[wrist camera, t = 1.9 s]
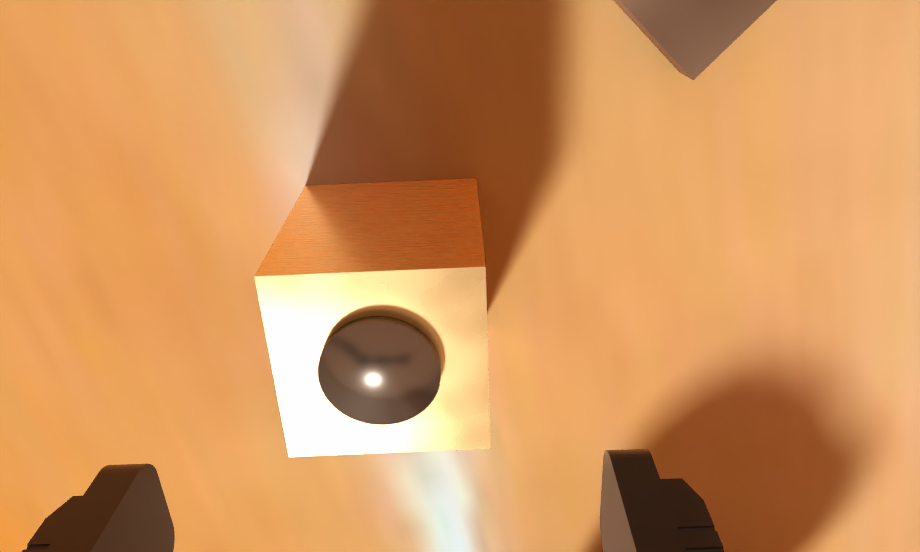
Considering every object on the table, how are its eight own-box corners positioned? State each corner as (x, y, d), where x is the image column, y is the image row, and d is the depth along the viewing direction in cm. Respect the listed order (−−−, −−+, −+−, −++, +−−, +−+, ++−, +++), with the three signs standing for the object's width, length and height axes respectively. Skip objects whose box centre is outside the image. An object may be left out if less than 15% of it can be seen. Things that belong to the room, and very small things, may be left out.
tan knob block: (327, 331, 23) (286, 464, 17) (305, 185, 20) (250, 282, 15) (480, 325, 23) (491, 456, 17) (476, 177, 20) (486, 273, 15)
